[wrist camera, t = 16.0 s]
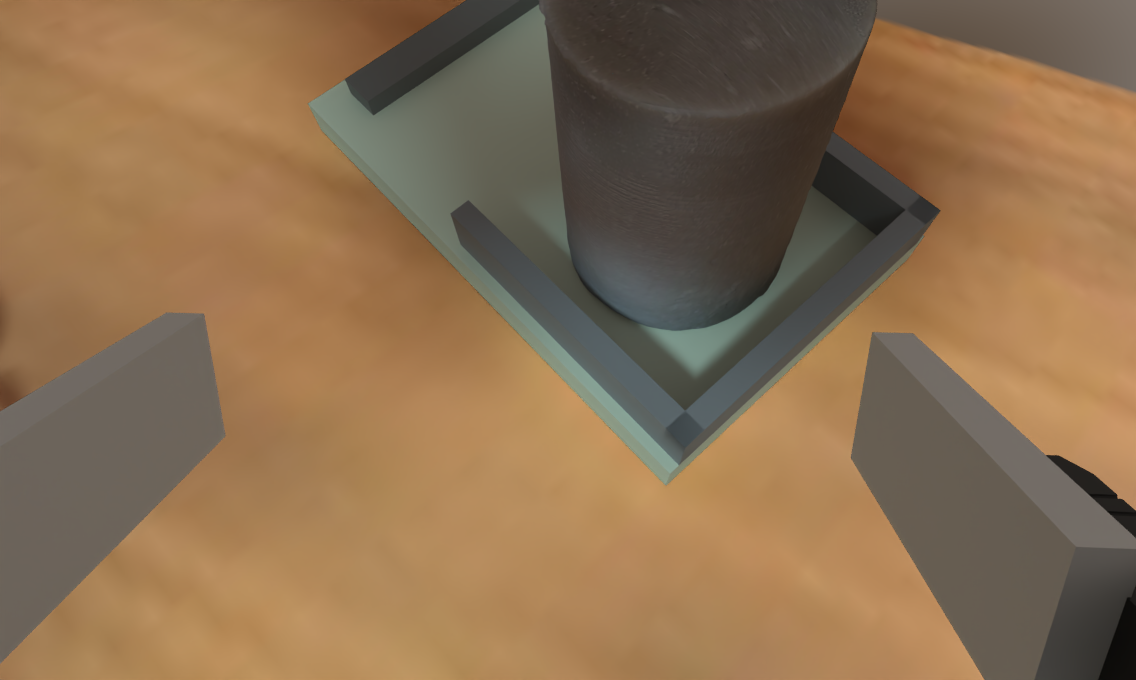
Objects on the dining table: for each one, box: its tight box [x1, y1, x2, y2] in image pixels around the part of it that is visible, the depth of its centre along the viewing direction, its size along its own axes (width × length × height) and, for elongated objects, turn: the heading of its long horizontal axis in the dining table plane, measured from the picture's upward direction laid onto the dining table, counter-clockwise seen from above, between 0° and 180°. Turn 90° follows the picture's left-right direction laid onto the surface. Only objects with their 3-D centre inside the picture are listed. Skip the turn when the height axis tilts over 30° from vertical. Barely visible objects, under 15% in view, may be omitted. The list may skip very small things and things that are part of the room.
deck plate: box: [308, 0, 941, 485], centre depth 35 cm, size 26×16×4 cm, turn 42°
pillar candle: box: [539, 0, 877, 331], centre depth 27 cm, size 10×10×15 cm
